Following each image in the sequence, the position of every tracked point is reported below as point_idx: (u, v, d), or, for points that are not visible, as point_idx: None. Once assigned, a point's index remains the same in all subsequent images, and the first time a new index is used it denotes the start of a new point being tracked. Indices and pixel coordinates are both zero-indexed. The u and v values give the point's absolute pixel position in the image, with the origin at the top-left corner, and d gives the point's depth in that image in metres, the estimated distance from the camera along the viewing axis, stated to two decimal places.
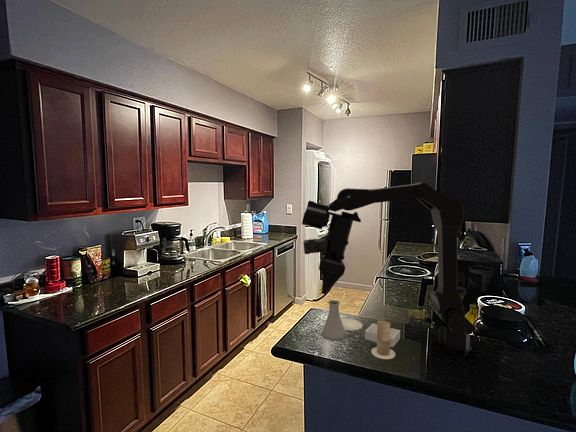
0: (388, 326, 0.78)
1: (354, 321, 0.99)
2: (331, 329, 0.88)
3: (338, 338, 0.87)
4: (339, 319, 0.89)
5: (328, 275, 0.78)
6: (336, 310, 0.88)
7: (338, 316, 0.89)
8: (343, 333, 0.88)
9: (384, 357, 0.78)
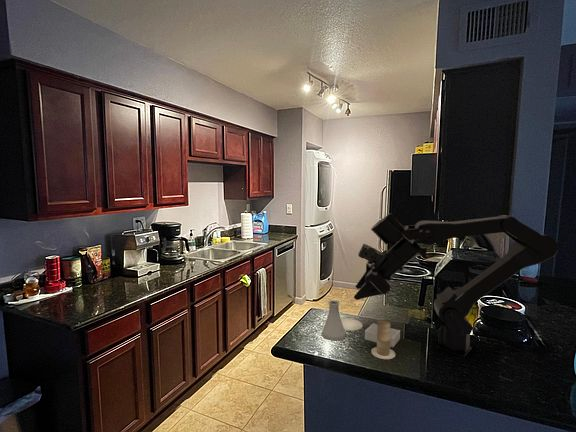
0: (388, 326, 0.78)
1: (354, 321, 0.99)
2: (331, 329, 0.88)
3: (338, 338, 0.87)
4: (339, 319, 0.89)
5: (369, 286, 0.80)
6: (336, 310, 0.88)
7: (338, 316, 0.89)
8: (343, 333, 0.88)
9: (384, 357, 0.78)
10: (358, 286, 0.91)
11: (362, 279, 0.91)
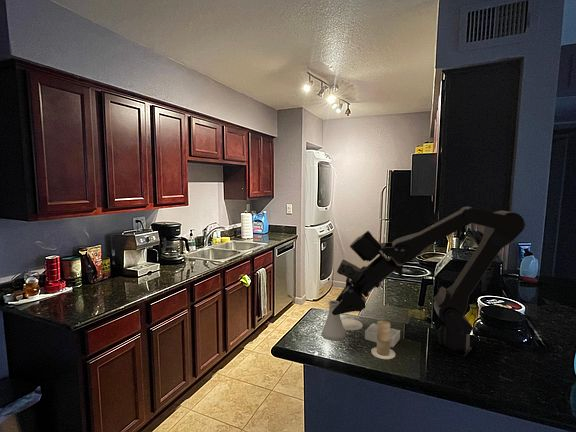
0: (388, 326, 0.78)
1: (354, 321, 0.99)
2: (331, 329, 0.88)
3: (338, 338, 0.87)
4: (339, 319, 0.89)
5: (346, 302, 0.83)
6: None
7: (338, 316, 0.89)
8: (343, 333, 0.88)
9: (384, 357, 0.78)
10: (338, 300, 0.93)
11: (342, 293, 0.93)
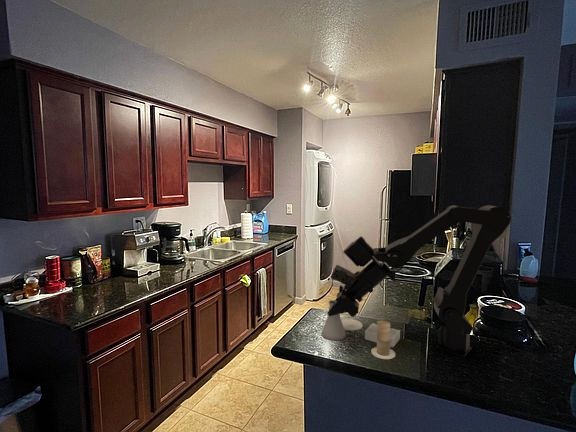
0: (388, 326, 0.78)
1: (354, 321, 0.99)
2: (331, 329, 0.88)
3: (338, 338, 0.87)
4: (339, 319, 0.89)
5: None
6: None
7: (338, 316, 0.89)
8: (343, 333, 0.88)
9: (384, 357, 0.78)
10: None
11: None
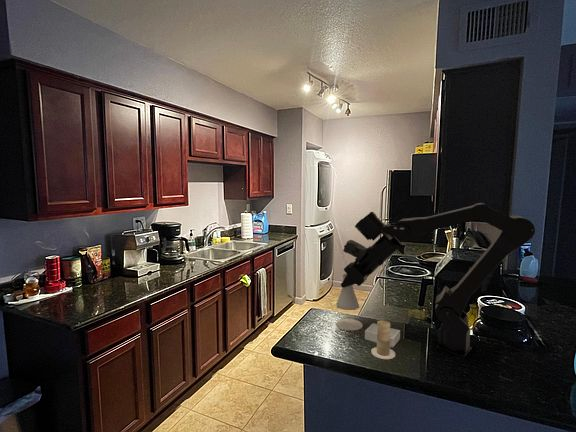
0: (388, 326, 0.78)
1: (354, 321, 0.99)
2: (344, 299, 0.93)
3: (350, 308, 0.92)
4: (352, 291, 0.93)
5: None
6: None
7: (351, 288, 0.93)
8: (356, 305, 0.93)
9: (384, 357, 0.78)
10: None
11: None
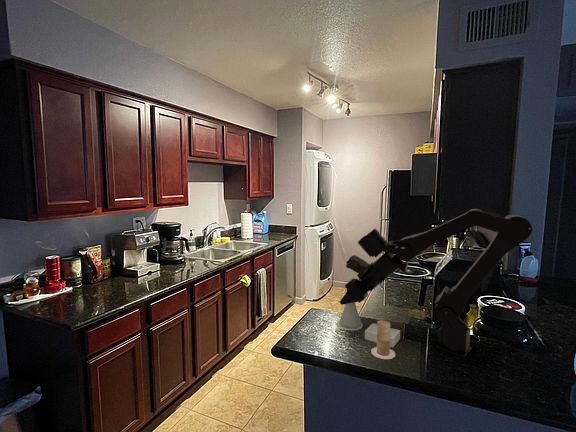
0: (388, 326, 0.78)
1: None
2: (346, 318, 0.95)
3: (352, 327, 0.94)
4: (355, 309, 0.95)
5: (351, 293, 0.90)
6: None
7: (354, 307, 0.95)
8: (358, 323, 0.94)
9: (384, 357, 0.78)
10: None
11: None
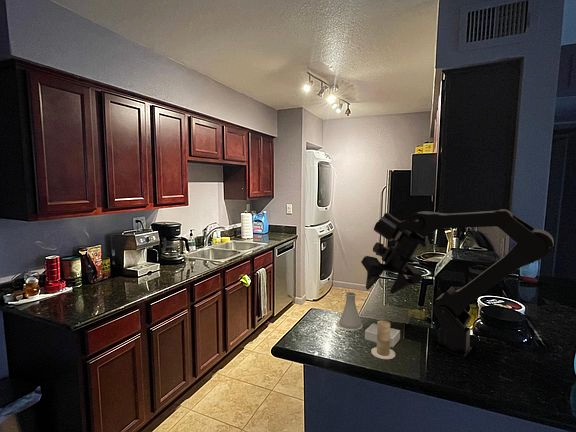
0: (388, 326, 0.78)
1: None
2: (346, 318, 0.95)
3: (352, 327, 0.94)
4: (355, 309, 0.95)
5: None
6: (352, 300, 0.95)
7: (354, 307, 0.95)
8: (358, 323, 0.94)
9: (384, 357, 0.78)
10: (391, 291, 0.96)
11: (394, 284, 0.96)
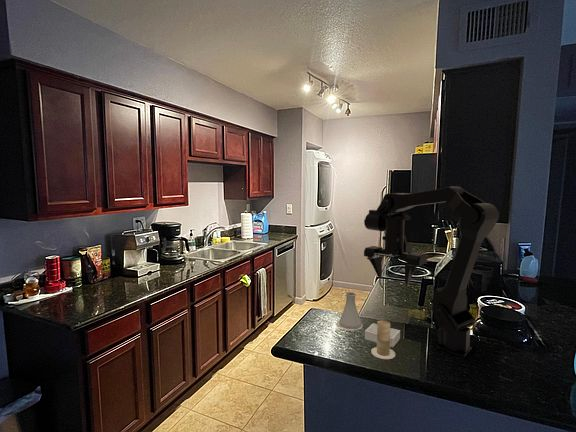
0: (388, 326, 0.78)
1: None
2: (346, 318, 0.95)
3: (352, 327, 0.94)
4: (355, 309, 0.95)
5: None
6: (352, 300, 0.95)
7: (354, 307, 0.95)
8: (358, 323, 0.94)
9: (384, 357, 0.78)
10: None
11: None
